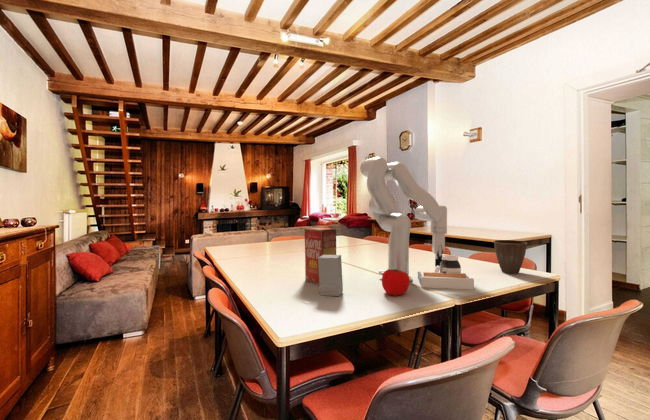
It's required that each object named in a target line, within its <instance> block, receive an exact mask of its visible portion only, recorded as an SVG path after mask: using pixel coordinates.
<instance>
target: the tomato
mask: <svg viewBox="0 0 650 420" xmlns="http://www.w3.org/2000/svg"><path fill="white" fill-rule="evenodd" d="M384 271H385V272H384V273H383V275H381V276H382V277H381V286H382V289H383V290H384V291H385V293H386V294H387V295H391V296H394V297H395V296H402V295H404V294H405V293H406V292H408V289H409V287H410V283H411V281H410V279H409V276H410V275H409V276H408V275H407V273H405V272H403V271H400V270H396V269H394V270H393V269H391V270H390V269H389V270H388V269H385V270H384Z"/></svg>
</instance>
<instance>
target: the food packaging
mask: <svg viewBox="0 0 650 420" xmlns="http://www.w3.org/2000/svg"><path fill="white" fill-rule="evenodd" d="M322 255H337V229H336V228H330V227H329V228H328V227H321V226H320V227H318V226H316V227H315V226H314V227H306V228H304V263H305V267H304V269H305V281H306V282H309V283H313V284H316V285H319V266H318V258H319V257H320V256H322Z"/></svg>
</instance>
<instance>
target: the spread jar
mask: <svg viewBox="0 0 650 420" xmlns="http://www.w3.org/2000/svg"><path fill="white" fill-rule="evenodd" d="M443 271H446V273H462V267H461V263H460V262H459V256H457V255H453V254H452V255H450V254H445V255H443V254H442V261H441V262H440V266H438V265H437V266H435V269H434V271H433V272H434V273H443Z"/></svg>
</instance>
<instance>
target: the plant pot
mask: <svg viewBox="0 0 650 420" xmlns="http://www.w3.org/2000/svg"><path fill="white" fill-rule="evenodd" d="M493 244H494V245H493V246H494V253H495V255H496V259H497V263H498V265H499V268H500V270H501V272H502V274H503V273H504V274H510V275H518V274H519V272H520V270H521V268H522V266H523V263H524V259H525V256H526V251H527V247H528V242H527V241H524V240H523V241H522V240H513V239H512V240H511V239H499V240H498V239H496V240H493Z"/></svg>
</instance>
